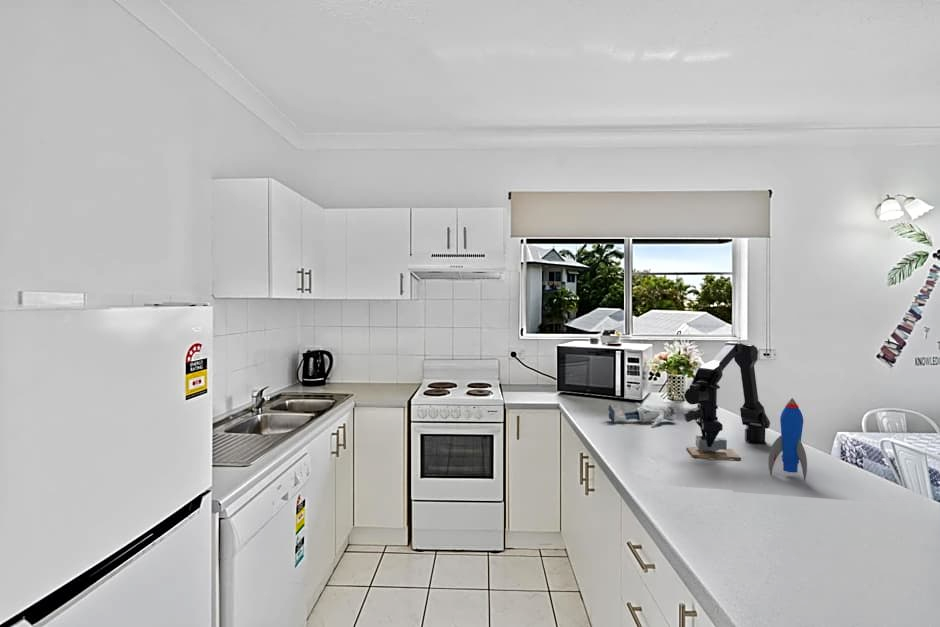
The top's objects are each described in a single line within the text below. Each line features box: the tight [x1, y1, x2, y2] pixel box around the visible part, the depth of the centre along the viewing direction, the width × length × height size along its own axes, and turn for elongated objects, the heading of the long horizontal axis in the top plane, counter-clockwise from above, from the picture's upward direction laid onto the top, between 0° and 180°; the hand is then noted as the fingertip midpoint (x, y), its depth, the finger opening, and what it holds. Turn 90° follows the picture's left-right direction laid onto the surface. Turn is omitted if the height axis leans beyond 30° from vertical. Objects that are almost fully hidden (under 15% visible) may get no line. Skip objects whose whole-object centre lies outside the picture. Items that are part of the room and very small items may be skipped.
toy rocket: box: [767, 397, 808, 482], centre depth 185 cm, size 11×10×25 cm
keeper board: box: [685, 445, 742, 461], centre depth 210 cm, size 16×12×5 cm
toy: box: [608, 402, 678, 428], centre depth 264 cm, size 23×8×30 cm
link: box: [695, 435, 728, 451], centre depth 211 cm, size 10×7×4 cm
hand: (707, 444), depth 211 cm, fingers closed on link, 6 cm apart
